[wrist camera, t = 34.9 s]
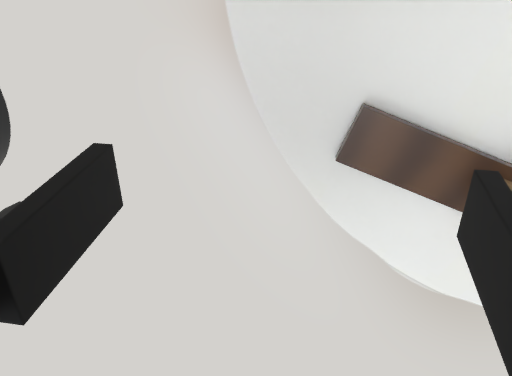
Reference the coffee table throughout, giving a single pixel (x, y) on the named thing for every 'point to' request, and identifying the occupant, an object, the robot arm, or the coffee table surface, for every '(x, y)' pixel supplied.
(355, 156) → the wooden block stand
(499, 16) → the coffee table surface
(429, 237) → the coffee table surface
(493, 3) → the coffee table surface
